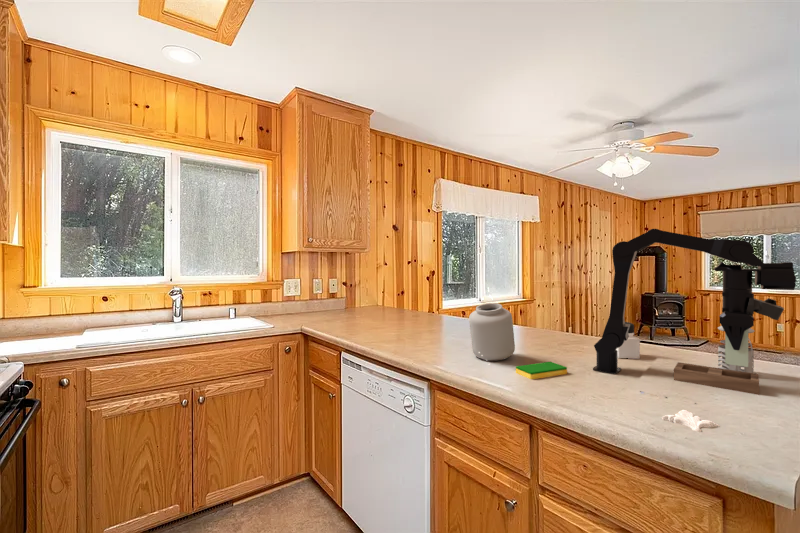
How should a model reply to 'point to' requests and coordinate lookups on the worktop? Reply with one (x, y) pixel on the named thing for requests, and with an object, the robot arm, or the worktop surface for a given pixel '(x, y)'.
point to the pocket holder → (717, 377)
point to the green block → (737, 352)
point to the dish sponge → (541, 370)
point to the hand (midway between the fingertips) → (736, 348)
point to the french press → (734, 367)
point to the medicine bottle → (630, 345)
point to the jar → (492, 332)
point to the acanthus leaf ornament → (689, 420)
